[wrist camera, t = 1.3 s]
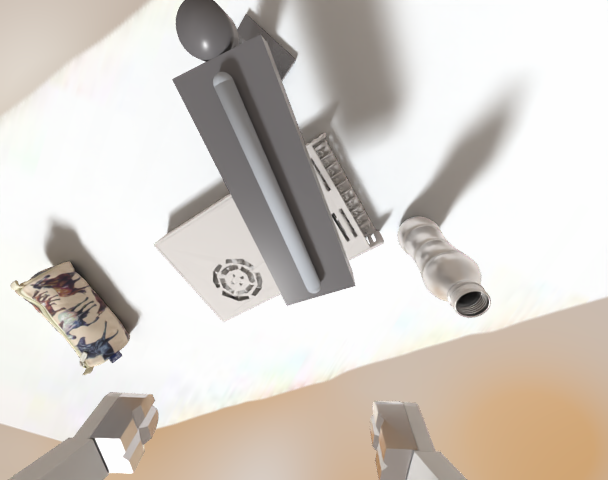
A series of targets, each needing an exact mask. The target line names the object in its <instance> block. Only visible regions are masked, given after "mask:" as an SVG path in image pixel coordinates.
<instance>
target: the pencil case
mask: <svg viewBox="0 0 608 480" xmlns="http://www.w3.org/2000/svg"><path fill="white" fill-rule="evenodd" d="M11 288H12V289H13V290H15V292H16V293H17V294H18V295H19V296H21V297H23V298H24V299H25V300H26V301H28V302H29V303H31V304H32V305H33V306H34V307H35V309H36V310H37V311H38V312H39V313H40V314H41V315H42V316H43V317H44V318H45V319H46V320H47V321H48V322H49V323H50V324H51V325H52V326H53V327H54V328H55V329H56V330H57V331H58V332H59V333H60V334H61V335H62V336H63V337H64V338H65V339H66V340H67V342H68V343H69V344H70V345H71V347H72V348H73V349H74V351H75V352H76V353H77V355H78V356H79V358H80V366H83V368H86V370H85V372H84V373H83V375H86V374H89V373H91V372H92V370H93V367H94V366H97V365H100V364H102V363H104V362H105V361H107V360H108V359H110V361H112V363H113V362H115V361H116V360H117V359H119V358H120V357H121V356H122V354H121V353H120V352H119V351H120V350H121V349H122V348H123V347H124V346H125V345H126V344H127V343H128V341H129V339H130V335H129V333H128V332H127V331H126V330H125V328H124V326H123V324H122V323H121V322H120V320H119V319H118V318H117V317H116V316H115V315H114V314H113V313H112V311H111V310H110V309H109V307H108V306H107V305H106V304H105V302H104V301H103V300H102V299H101V298H100V297H99V296H98V295H97V293H96V292H95V291H94V290H93V289H92V288H91V287H90V286H89V284H88V283H87V282H86V280H84V279H83V278H82V277H81V276H80V275H79V274H78V273H76V272H75V269H74V267H73V266H72V264H71V263H70V262H64V263H61V264H59V265H56V266H53V267H50V268H47V269H45V270H42V271H40V272H38V273H37V274H35V275H34V276H33V277H32V278H31V279H30V280H28V281H26V282H24V283H21V284H20V285H19V284H18V281H14V282H12V284H11Z"/></svg>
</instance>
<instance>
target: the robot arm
mask: <svg viewBox="0 0 608 480" xmlns="http://www.w3.org/2000/svg"><path fill="white" fill-rule="evenodd" d="M154 401H155V400H154V397H153V394H136V393H117V392H110V393H109V394H107V395H106V396H105V397H104V398H103V399H102V401H101V402H100V403H99V404H98V406H97V407H96V408H95V410H94V411H93V412H92V414H91V415H90V416H89V418H88V419H87V420H86V421H85V423H84V424H83V425H82V427H81V428H80V429H79V431H78V432H77V433H76V435H75V436H74V437H73V438H68V439H66V440H65V441H63V442H62V443H61V444H59V445H58V446H56V447H55V448H53V449H52V450H50V451H49V452H47V453H46V454H45V455H43V456H42V457H40V458H39V459H37V460H36V461H34V462H33V463H32V464H30V465H29V466H27V467H26V468H24V469H23V470H21V471H20V472H18V473H17V474H15V475H14V476H13V477H11V478H10V479H8V480H103V479H105V477H107V476H108V473H134V471H135V469H136V467H137V465H138V463H139V461H140V459H141V457H142V456H143V454H144V444H145V443H146V442H147V441H149V440H150V439H151V438H152V436H153V434H154V432H155V430H156V427H157V423H158V410H157V408H155V407H154V406H153V403H154ZM372 409H373V415H372V416H371V420H370V433H371V440H372V446H373V447H374V448H375V450H376V451H377V452H376V458H375V462H376V467H377V473H378V478H379V480H467V479H466V478H465V477H464V476H463V475H462V474H461V473H460V472H459V471H458V470H457V469H456V468H455V467H454V466H453V464H452V463H450V462H449V460H448V459H447V458H446V457H445V456H444V455H443V454H442V453H441V452H438V451H435V448H434V446H433V443H432V441H431V438H430V435H429V432H428V430H427V427H426V424H425V422H424V419H423V417H422V414H421V411H420V408H419V406H418V404H417V403H416V402H400V401H399V402H397V401H374V402H373V406H372Z"/></svg>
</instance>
